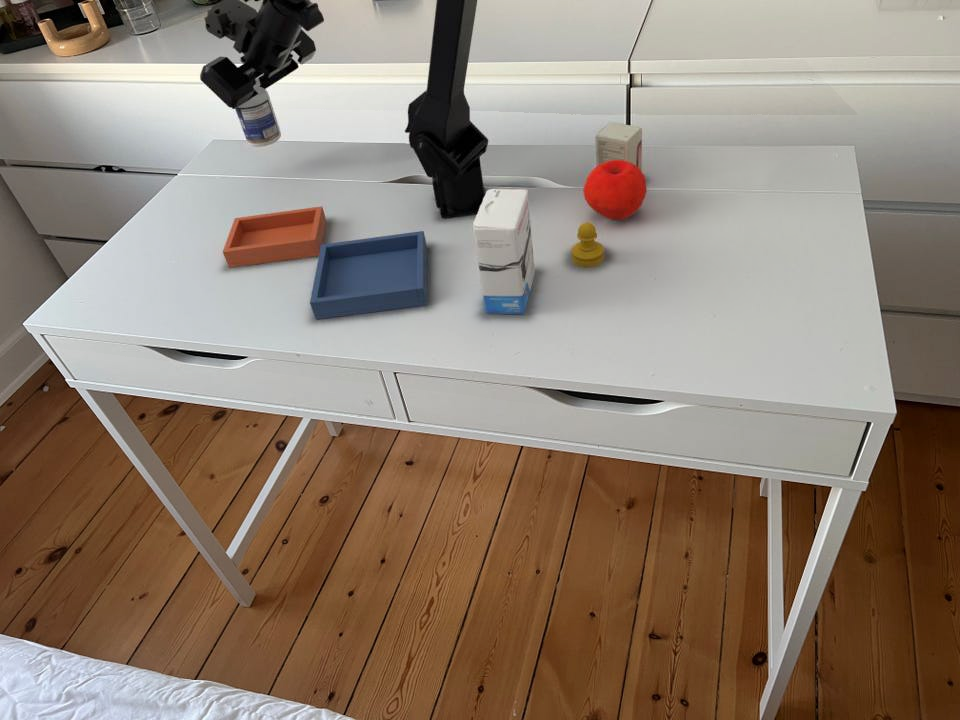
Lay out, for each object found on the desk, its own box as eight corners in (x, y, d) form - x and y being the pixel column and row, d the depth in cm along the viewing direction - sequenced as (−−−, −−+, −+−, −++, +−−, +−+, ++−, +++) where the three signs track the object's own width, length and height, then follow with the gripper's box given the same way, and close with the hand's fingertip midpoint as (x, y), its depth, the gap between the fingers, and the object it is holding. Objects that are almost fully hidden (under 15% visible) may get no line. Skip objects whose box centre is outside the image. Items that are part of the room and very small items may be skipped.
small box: (642, 179, 108) (643, 126, 103) (628, 194, 105) (628, 140, 100) (610, 172, 110) (610, 120, 105) (595, 186, 108) (594, 134, 103)
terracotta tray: (326, 221, 110) (322, 206, 108) (320, 255, 104) (315, 239, 102) (240, 233, 111) (234, 218, 109) (229, 267, 104) (222, 251, 102)
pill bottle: (250, 135, 122) (228, 74, 115) (283, 129, 122) (264, 68, 115) (245, 150, 118) (222, 88, 111) (279, 144, 118) (259, 82, 111)
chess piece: (606, 250, 96) (606, 215, 93) (600, 268, 93) (599, 233, 90) (575, 248, 97) (574, 213, 94) (568, 266, 95) (566, 231, 91)
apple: (581, 230, 100) (578, 180, 95) (588, 199, 106) (587, 149, 101) (643, 232, 98) (644, 180, 93) (648, 199, 104) (649, 148, 99)
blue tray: (427, 247, 102) (423, 230, 100) (426, 305, 92) (423, 287, 91) (326, 260, 102) (320, 244, 101) (315, 319, 93) (309, 302, 91)
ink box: (525, 315, 89) (516, 228, 81) (483, 314, 90) (470, 228, 82) (536, 272, 95) (528, 186, 87) (497, 271, 96) (485, 187, 88)
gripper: (275, -42, 108) (244, 35, 121) (182, 4, 97) (157, 84, 109) (334, 18, 110) (297, 87, 122) (249, 70, 99) (217, 141, 111)
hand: (244, 98), depth 116 cm, fingers closed on pill bottle, 5 cm apart
